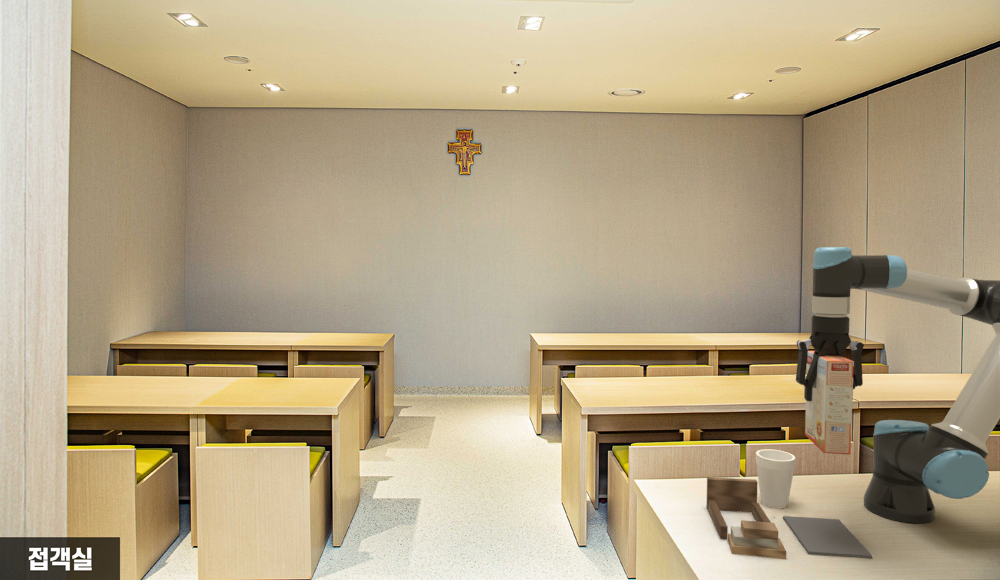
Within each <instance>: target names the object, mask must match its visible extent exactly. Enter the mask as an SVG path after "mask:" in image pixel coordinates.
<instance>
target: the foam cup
mask: <svg viewBox="0 0 1000 580" xmlns="http://www.w3.org/2000/svg"><path fill="white" fill-rule="evenodd" d="M796 458H797V457H796V456H795V455H794V454H792V453H790V452H787V451H784V450H779V449H772V448H770V449H768V448H767V449H760V450H757V451H756V452H755V463H756V468H757V469H756V470H757V479H758V488H759V494H760V495H759V496H760V503H761V504H762V505H763V506H765V507H768V508H771V509H778V510H779V509H782V510H783V509H786V508H787V507H788V505H789V500H790V493H791V488H792V481H793V476H794V471H795V468H796V462H797V461H796Z"/></svg>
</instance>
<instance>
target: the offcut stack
mask: <svg viewBox="0 0 1000 580" xmlns="http://www.w3.org/2000/svg"><path fill="white" fill-rule="evenodd" d="M727 542H728V545H729V549H730V551H731V554H732V555H742V556H751V557H761V558H771V559H780V560H782V559H783V560H786V559H787V550H786V548H785V547H784V544H783V542H782V540H781V539H780V538H779V530H778V527H777V526H776V524H775V522H771V523H768V522H757V521H756V520H745V519H741V520H740V526H730V533H728V535H727Z"/></svg>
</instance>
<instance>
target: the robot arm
mask: <svg viewBox="0 0 1000 580" xmlns="http://www.w3.org/2000/svg"><path fill="white" fill-rule="evenodd" d="M812 260H813V261H812V265H811V266H812V301H811V302H812V305H811V306H812V310H811V312H812V314H814V315H812V316H811V334H810V336H809V339H804V340H797V341H796V345H797V349H798V351H797V352H798V354H797V363H796V364H797V365H796V373H795V375H796V376H795V381H796V383H798V384H799V385H802V386H803V387H804V393H803V394H804V397H803V399H804V400H805V402H806V401H808V414H810V415H811V416H813V417H816V392H817V388H815V387H813V385H814V382H815V379H816V377H817V365H818V359H819V357H821V356H825V355H826V356H839V357H845V358H847V357H846V353H845V351H846V349H847V348H848V347H849V349H850V357H851V359H850V360H852V361H854V370H853V390H855V389H856V388H857V387H861V386H863V384H864V383H863V382H864V381H863V362H862V352H863V350H864V345H865V344H864V343H863V342H860V341H857V340H852V339H851V337H850V319H851V318H850V317H849V316H847V315H849V314H850V313H851V311H850V310H851V291H852V290H851V289H854V290H860V291H865V292H869V293H874V294H879V295H882V296H888V297H893V298H897V299H901V300H906V301H910V302H914V303H915V302H916V303H920V304H924V305H930V306H933V307H938V308H943V309H947V310H948V311H949V312H950V313H952V315H955V316H960V317H965V318H967V319H972V320H975V321H978V322H981V323H983V324H988V325H990V326H992V328H993V330H994V333H995V336H994V337H993V339H992V341H991V342H990V344H988V345H989V346H988V347H987V348H986V349H985V351H984V354H983V355H982V357H981V358H980V360H979V362H978V363H977V365H976V367H975V368H974V370H973V372H972V373H971V375H970V376H969V378H968V380H967V381H966V382H965V385H964V386H963V388H962V389H961V390H960V392H959V394H958V395H957V398H956V399H955V401H954V402H953V404H952V405H951V407H950V409H949V410H948V412H947V414H946V415H945V417H944V419H943V420H942V421H941V422H938V423H932V424H931V425H929V424H928V423H926V422H925V423H924V422H921V421H914V420H905V419H904V420H903V419H883V420H879V421H877V422H876V423H875V424H874V431H873V434H872V436H873V450H872V451H873V455H872V456H873V457H872V458H873V459H872V477H871V480H870V482H869V483H868V486H867V488H866V490H865V492H864V495H863V505H864V507H865V508H866V509H867V510H868V511H870V512H872V513H873V514H876V515H877V516H880V517H883V518H885V519H889V520H893V521H898V522H903V523H911V524H912V523H913V524H925V523H930V522H933V521H934V520H935V518H936V517H935V515H936V509H935V505H934V502H933V499H932V497H931V493H930V491H932V492H933V493H935V494H938V495H942V496H944V497H946V498H949V499H955V500H961V499H965V498H967V499H968V498H971V497H973V496H975V495H976V494H978V493H980V492H981V491H982V490H983V489H984V487H985V486H986V485H987V482H988V481H989V479H990V478H989V477H990V472H989V465H988V463H987V461H986V460H985V459H986V458H987V456H988V455H989V451H988V448H987V446H986V441H987V440H988V438H989V437H990V435H991V433H992V432H993V430H994V428H995V427H996V425H997V424H998V422H999V420H1000V279H999V280H997V279H993V280H992V279H991V280H990V279H978V278H977V279H976V278H973V277H961V278H959V279H956V278H952V277H947V276H942V275H937V274H932V273H929V272H924V271H919V270H915V269H910V268H908V265H907V264H906V261H905V259H903V258H902V257H900V256H898V255H889V254H883V255H880V254H879V255H867V254H865V255H861V254H859V255H857V254H856V255H853V253H852V249H851V248H850V247H848V246H843V247H841V246H837V247H836V246H832V247H831V246H827V247H818V248H816V249H815V250H814V252H813V259H812ZM810 345H811V346H812V347H813V349H814V351H815V352H814V354H813V359H812V362H811V365H810V367H809V370H808V373H807V356H808V351H809V349H810ZM853 397H854V395H853V396H852V401H853ZM929 490H930V491H929Z"/></svg>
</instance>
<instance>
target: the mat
mask: <svg viewBox="0 0 1000 580" xmlns="http://www.w3.org/2000/svg"><path fill="white" fill-rule="evenodd" d="M782 519H783V521H784V522H785V523H786V525H787V526H788V528H789V529H790V531H791V532H792V533H793V535H794V536H795V537H796V539H797V541H798V542H799V543H800V545H801V546H802V548H803V549H804V551H805V552H806V554H808V555H816V556H830V557H843V558H844V557H845V558H846V557H847V558H857V559H860V558H862V559H863V558H864V559H873V557H874V556H873V555H872V553H870V551H869V550H868V549H867V548H866V547H865V546H864V545H863V543H861V542H860V540H859V539H858V538H857V537H856V536H855V535H854V534H853V533H852V532H851V530H849V528H848V527H847V526H846V525H845V524H844V523H843V522H842V521H841V520H840V519H839V518H838V519H837V518H822V517H807V516H805V517H803V516H788V515H782Z"/></svg>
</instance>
